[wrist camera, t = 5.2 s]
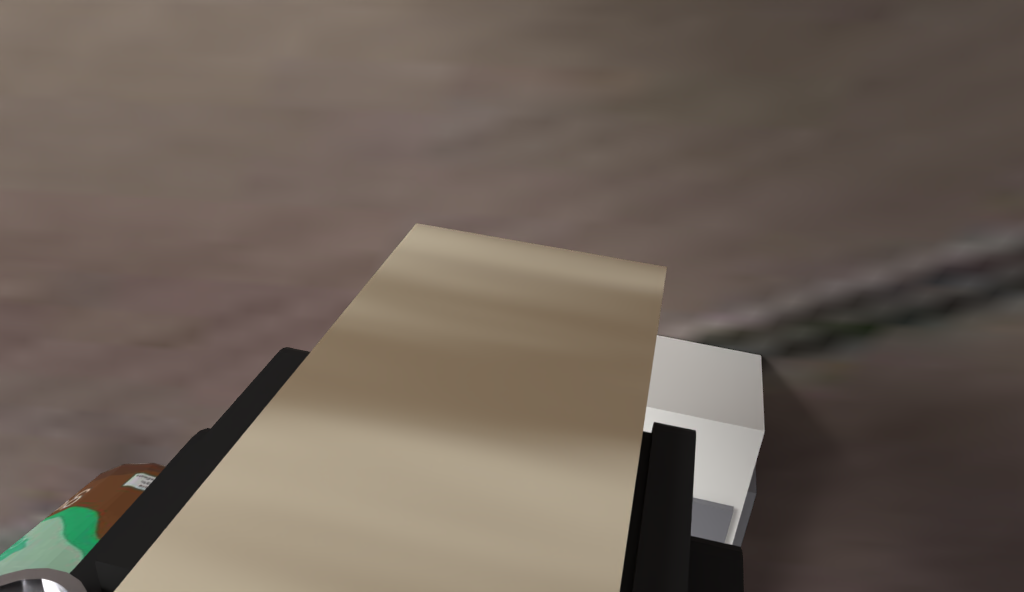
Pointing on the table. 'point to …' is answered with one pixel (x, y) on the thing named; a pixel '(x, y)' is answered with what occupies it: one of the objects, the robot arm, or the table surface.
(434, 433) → the plug
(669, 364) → the socket block
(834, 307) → the table surface
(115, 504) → the food container
